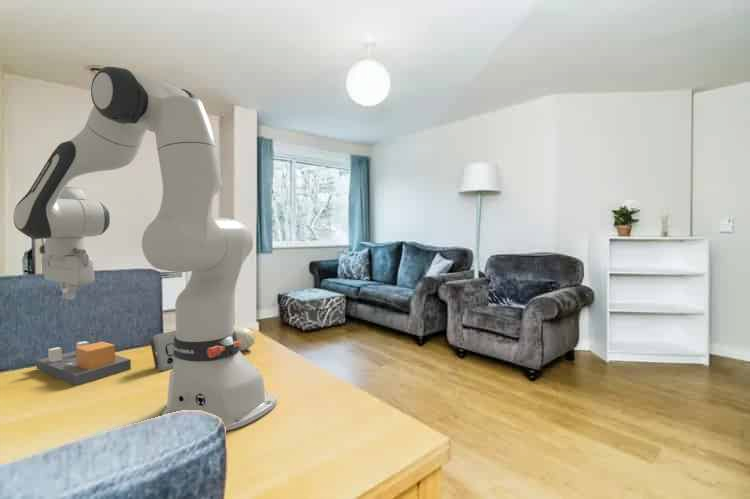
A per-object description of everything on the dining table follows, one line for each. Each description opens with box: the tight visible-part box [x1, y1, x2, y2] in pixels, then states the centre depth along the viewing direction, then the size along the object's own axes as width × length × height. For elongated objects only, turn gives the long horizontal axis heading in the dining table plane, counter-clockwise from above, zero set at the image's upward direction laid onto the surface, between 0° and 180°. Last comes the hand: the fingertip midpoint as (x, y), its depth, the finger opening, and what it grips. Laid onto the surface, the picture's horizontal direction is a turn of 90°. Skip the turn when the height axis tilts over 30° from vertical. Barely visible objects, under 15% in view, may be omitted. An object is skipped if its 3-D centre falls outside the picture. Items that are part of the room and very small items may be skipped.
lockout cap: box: [75, 341, 116, 370], centre depth 93 cm, size 6×6×4 cm
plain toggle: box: [47, 346, 63, 362], centre depth 94 cm, size 2×2×3 cm
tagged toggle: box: [75, 340, 90, 348], centre depth 100 cm, size 2×2×3 cm
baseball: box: [233, 327, 256, 352], centre depth 112 cm, size 7×7×7 cm
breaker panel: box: [36, 350, 132, 387], centre depth 96 cm, size 20×12×3 cm, turn 62°
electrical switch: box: [149, 329, 176, 372], centre depth 100 cm, size 9×5×9 cm, turn 152°
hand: (69, 298), depth 102 cm, fingers closed
